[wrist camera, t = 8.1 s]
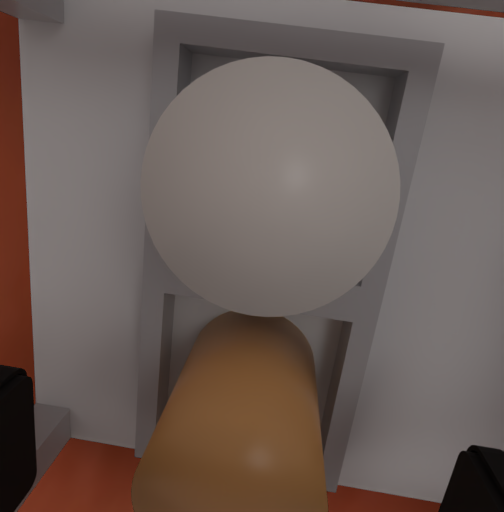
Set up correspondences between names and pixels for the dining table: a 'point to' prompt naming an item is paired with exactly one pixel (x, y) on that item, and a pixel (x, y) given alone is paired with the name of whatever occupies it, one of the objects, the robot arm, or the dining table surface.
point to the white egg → (270, 186)
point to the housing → (309, 323)
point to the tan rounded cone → (238, 425)
